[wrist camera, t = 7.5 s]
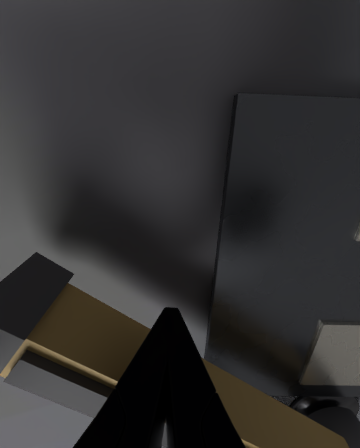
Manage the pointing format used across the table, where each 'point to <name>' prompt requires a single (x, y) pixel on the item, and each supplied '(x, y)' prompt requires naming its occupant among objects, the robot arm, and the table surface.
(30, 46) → the table surface
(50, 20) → the table surface
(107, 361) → the swing arm
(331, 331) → the panel
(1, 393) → the table surface
